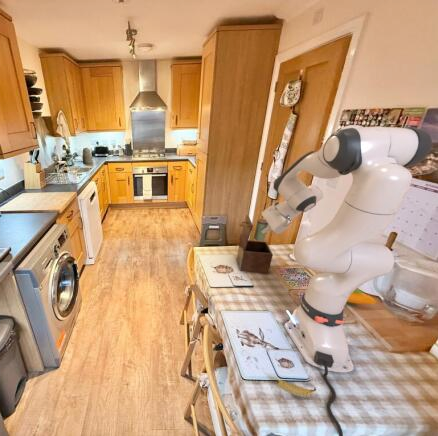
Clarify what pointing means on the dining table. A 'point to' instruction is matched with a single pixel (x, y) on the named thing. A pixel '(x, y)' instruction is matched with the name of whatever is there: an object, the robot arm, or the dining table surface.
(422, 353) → the dining table surface
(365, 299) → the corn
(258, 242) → the box
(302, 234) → the candle
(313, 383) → the dining table surface
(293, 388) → the banana
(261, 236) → the spice jar
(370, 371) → the dining table surface
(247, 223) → the lid
